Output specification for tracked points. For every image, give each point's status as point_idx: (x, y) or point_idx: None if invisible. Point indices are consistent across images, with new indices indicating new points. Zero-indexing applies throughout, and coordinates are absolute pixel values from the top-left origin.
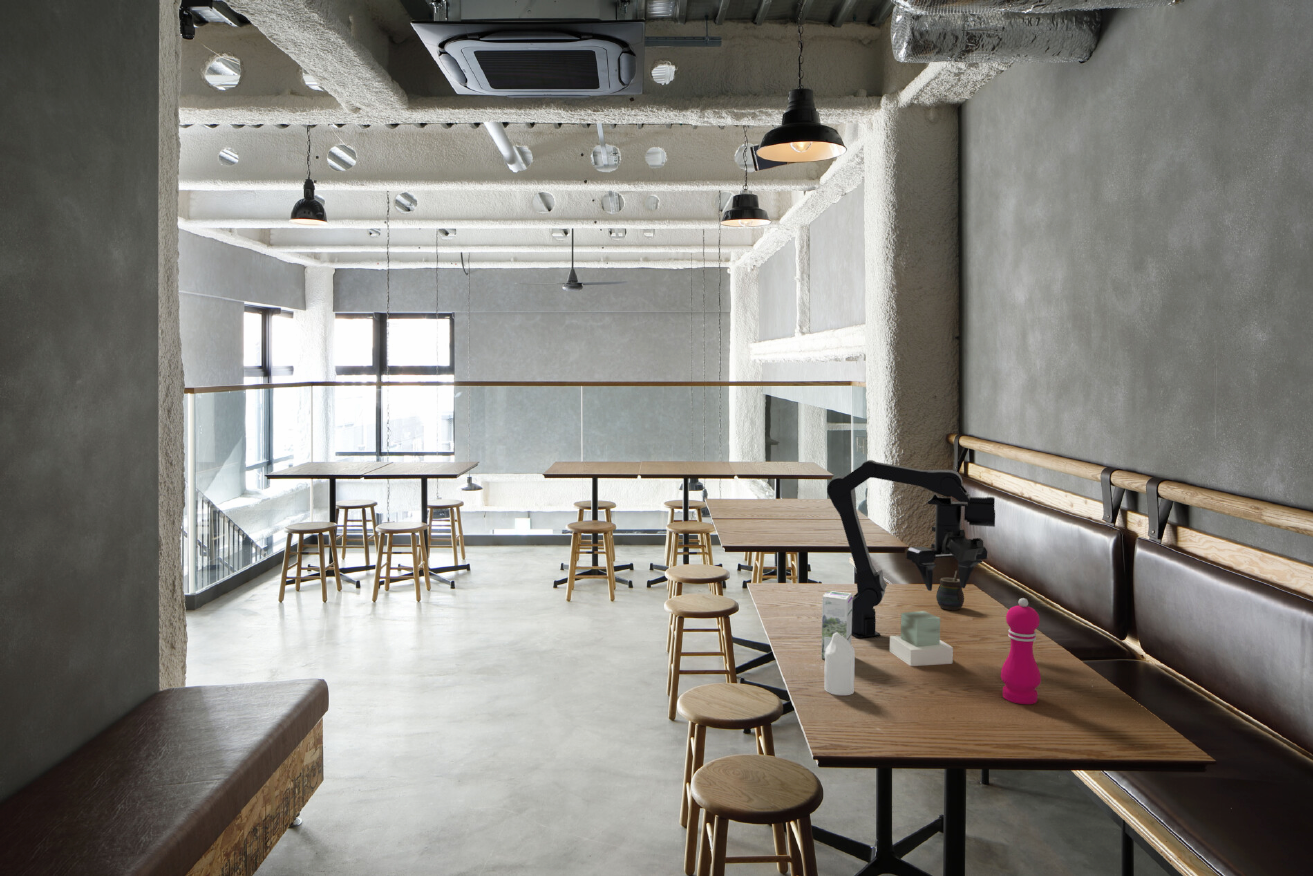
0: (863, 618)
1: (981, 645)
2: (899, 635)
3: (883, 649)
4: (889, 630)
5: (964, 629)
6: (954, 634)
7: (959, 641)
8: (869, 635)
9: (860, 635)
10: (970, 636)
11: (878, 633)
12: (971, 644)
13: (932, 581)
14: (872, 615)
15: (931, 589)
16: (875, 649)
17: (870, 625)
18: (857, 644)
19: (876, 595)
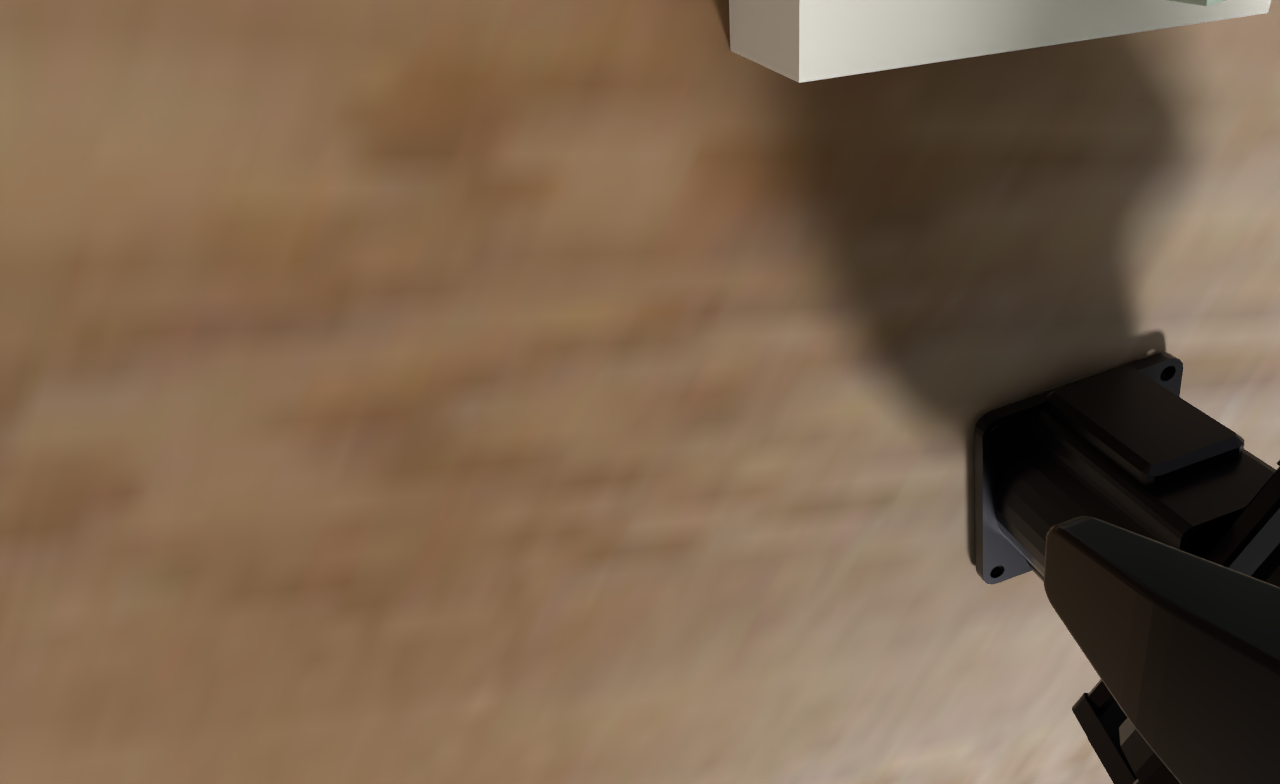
0: (1254, 458)
1: (52, 179)
2: (1168, 26)
3: (1148, 62)
4: (825, 567)
5: (126, 678)
6: (282, 529)
7: (297, 318)
8: (1095, 377)
9: (1152, 379)
10: (115, 486)
11: (994, 439)
12: (179, 217)
13: (1255, 655)
14: (1191, 496)
15: (1078, 537)
16: (1210, 65)
17: (1158, 418)
18: (1253, 208)
19: None
